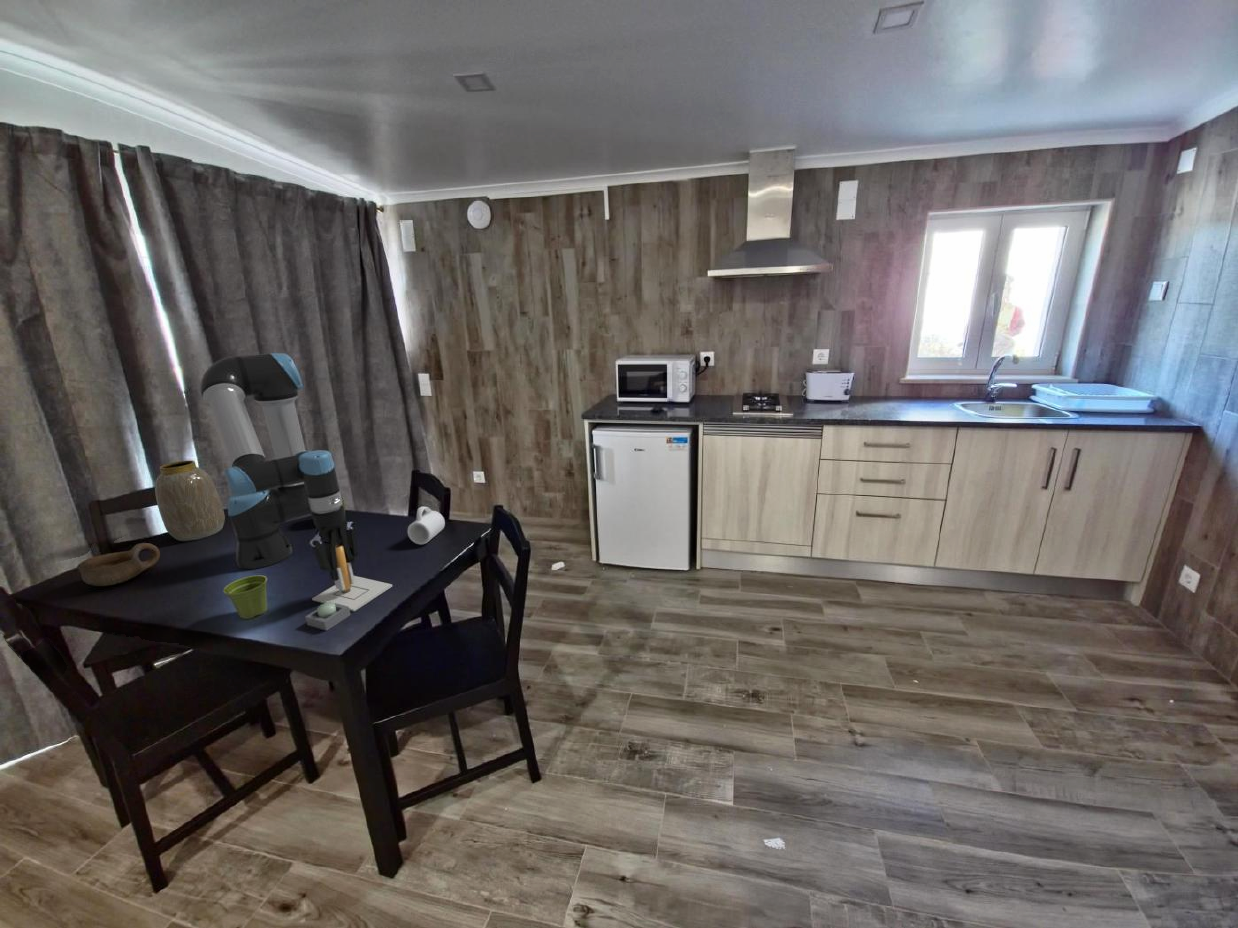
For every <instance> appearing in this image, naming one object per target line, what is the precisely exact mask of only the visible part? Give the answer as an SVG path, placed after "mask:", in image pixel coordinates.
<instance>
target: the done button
mask: <svg viewBox="0 0 1238 928" xmlns="http://www.w3.org/2000/svg"><path fill="white" fill-rule="evenodd" d="M316 610H317V611H318V615H319V617H320V618H323V619H326V618H328V617H329V616H331V615H333V614H334V613H336V612H337V611H336V607H335V603H333V602H327V603H321V604H320V605H318V606H317V608H316Z"/></svg>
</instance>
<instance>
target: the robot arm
mask: <svg viewBox="0 0 1238 928" xmlns="http://www.w3.org/2000/svg"><path fill="white" fill-rule="evenodd" d="M295 364H296V363H294V361H293V359H292V358H291V357H290V355H288V354H287V353H284V352H280V353H279V352H278V353H273V352H272V353H271V352H269V353H261V354H250V355H240V356H239V355H238V356H228V357H227V356H226V357H224V358H223V357H222V358H221V359H219V360H217V361H215V362H213V364H211V365H210V366H209V367H208V368H207V369H206V371H205V373H204V374H203V376H202V378H201V382H200V395H201V398H202V400H203V403H204V404H205V405H206V406H207V407H209V408H210V410H211V412H212V415H213V417H214V421H215V423H216V427H217V429H218V431H219V434H220V437H221V439H222V443H223V445H224V449H225V451H226V455H227V457H228V459H229V460H228V461H229V462H230V465H231V467H230V468H227V469H225V471H224V475H225V478H226V482H227V485H228V487H229V491H230V493H231V495H230V497H228V499H227V501H226V508H227V516H229V518H230V521H231V525H232V528H233V531H234V534H235V538H236V541H237V544H236V552H235V553H236V554H235V562H236V565H237V567H238V569H243V570H255V569H262V568H265V567H268V566H273V565H275V564H278V563H280V562H281V561H284V560H285V559H287V558H289V557H290V556H291V555H292V554H293V547H292V545H291V543H290V541H289V540H288V538H287V537H286V536H285V535H284V534H283V532H282V531H281V527H280V524H284V523H287V522H291V521H295V520H298V519H299V520H300V519H303V518H307V517H311V518H312V520H313V524H314V526H315V528H316V529H315V530H316V531H315V536H314V537H313V538H312V539H308V541H307V544H308V545H310V547H311V548H312V550H313V553H314V555H315V557H316V560H317V562H318V565H319V568H320V570H321V571H325V572H329V576H330V579H331V580H332V581H334V585H335V586H336V589H340V590H344V589H345V585H344V581H343V577H342V572H341V568H337V559H336V550H335V546H336V545H343V548H344V553H345V558H346V563H347V568H348V573H349V578H350V583H351V584H354V583H355V580H354V576H355V575H354V571H355V566H354V562H356V558H355V557H358V555H359V552H358V541H357V540H358V539H357V533H356V530H357V526H358V525H357V522H354V521H347V520H346V510H345V511H344V507H343V506H342V504H343V503H342V499H343V497H342V494H341V491H340V490H341V489H340V486H339V481H338V478H337V477H338V476H337V473H336V467H335V461H334V460H333V456H332V453H331V452H330V451H329V450H325V449H323V450H322V449H319V450H306V447H305V443H304V438H303V434H302V430H301V426H300V422H299V418H298V413H297V409H296V403H295V401H296V400H297V398H298V397H299V392H298V391H301V390H302V389H303V383H302V378H301V375H300V373H299V370H298V368H297V366H296V365H295ZM248 396H249V397H250V396H253V400H254V402H255V403H257V404H259V405H260V406H261V408H262V411H263V416H264V419H265V423H266V427H267V431H268V434H269V438H270V442H271V447H272V451H273V454H274V455H273V456H274V458H275V459H270V460H268V459H267V458H266V455H265V453H264V450H263V448H262V445H261V443H260V441H259V437H258V435H257V433H256V430H255V428H254V425H253V423H252V420H251V418H250V415H249V413H248V410H247V407H246V405H245V402H244V400H245V398H246V397H248ZM341 497H342V498H341ZM322 544H323V545H322Z"/></svg>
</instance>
